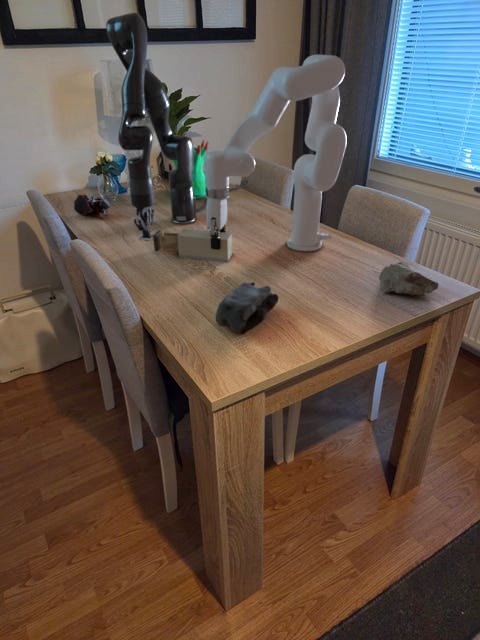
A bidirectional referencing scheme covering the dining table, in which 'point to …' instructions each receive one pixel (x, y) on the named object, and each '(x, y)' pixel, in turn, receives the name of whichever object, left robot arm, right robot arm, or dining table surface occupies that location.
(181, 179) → the left robot arm
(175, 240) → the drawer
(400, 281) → the artifact
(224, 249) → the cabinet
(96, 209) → the toy
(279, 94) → the right robot arm
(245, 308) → the rock
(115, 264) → the dining table surface
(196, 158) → the toy
